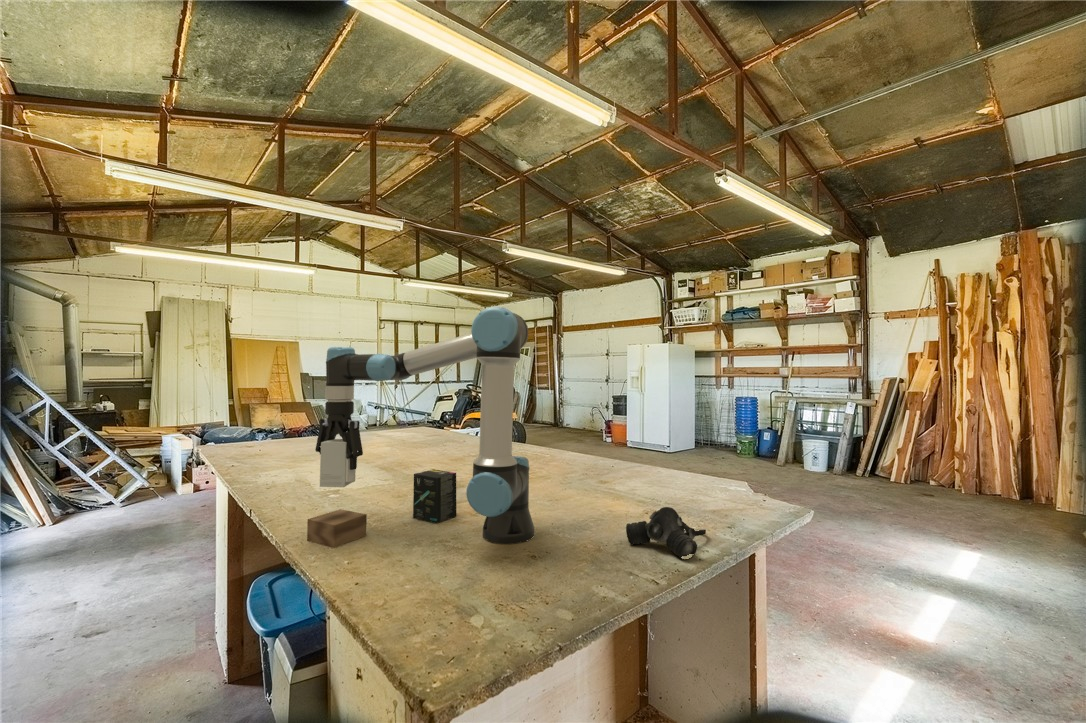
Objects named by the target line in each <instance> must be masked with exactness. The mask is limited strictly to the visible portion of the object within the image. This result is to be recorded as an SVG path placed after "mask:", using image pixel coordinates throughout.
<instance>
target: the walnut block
mask: <svg viewBox="0 0 1086 723" xmlns="http://www.w3.org/2000/svg"><path fill="white" fill-rule="evenodd" d="M367 519H368V518H367V514H366V513H361V512H356V511H351V510H346V509H342V508H341V509H337V510H334V511H330V512H326V513H324V514H320V515H317V516H314V517H310V518H307V528H306V531H307V533H306V541H307V542H310V543H315V544H318V545H322V546H326V547H330V548H336V547H339V546H342V545H344V544H347V543H350V542H353V541H355V540H358V539H360V538H362V537H365V536H367V525H368V524H367Z"/></svg>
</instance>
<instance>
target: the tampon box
mask: <svg viewBox="0 0 1086 723" xmlns="http://www.w3.org/2000/svg"><path fill="white" fill-rule="evenodd" d="M412 496H413V497H412V498H413V499H412V500H413V502H412V506H413V507H412V508H413V509H412V519H415V520H420V521H424V522H428V523H432V524H439V523H441V522H445V521H448V520H450V519H453V518H456V517H457V516H458V514H457V472H453V471H447V470H440V469H430V470H429V469H428V470H425V471H422V472H418V473H417V472H416V473H414V474H413V495H412Z"/></svg>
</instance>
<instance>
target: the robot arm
mask: <svg viewBox="0 0 1086 723" xmlns="http://www.w3.org/2000/svg"><path fill="white" fill-rule="evenodd" d="M470 330H471V331H470V332H469V333H467V334H464V335H459V336H456V337H453V338H449V339H446V340H443V341H439V342H437V343H433V344H430V345H429V344H428V345H426V346H422V347H419V348H415V349H412V350H409V351H406V352H402V353H398V354H394V355H390V354H386V353H385V354H384V353H371V354H370V353H367V354H365V353H364V354H357V353H356V350H355V348H354V347H349V346H331V347H329V348H328V349H327V350H326V358H325V360H326V361H325V366H326V367H325V371H326V374H325V375H326V376H325V377H326V378H325V379H326V383H325V394H324V395H325V397H324V399H325V400H326V402H325V406H324V408H325V410H324V411H325V412H324V413H325V415H326V416H327V418H320V419H319V430H318V436H317V439H316V445H315V450H314V451H315V452H316V453H319V455H320V456H321V442H324V441H328V440H333V439H336V437H337V435H339V437H341V439H343V442H347V449H346V451H347V454H348V457H346V482H350V481H354V480H355V481H356V471H357V468H358V467H357V466H358V457H360V456H363V455H364V451H363V446H362V439H361V434H360V433H361V432H360V424H361V423H360V420H352V415H354V410H355V408H354V407H355V405H354V401H352V400H354V398H355V381H368V382H369V381H371V382H372V381H373V382H374V381H376V382H385V381H386V382H387V381H397V382H398V381H402V380H407V379H408V378H410V377H412V376H416V375H419V374H422V373H426V372H430V371H433V370H437V369H440V368H444V367H447V366H452V365H455V364H458V363H462V362H467V361H469V360H473V359H476V360H478V361H479V363H480V364H481V381H480V382H481V386H480V387H481V388H480V389H481V390H480V415H479V416H480V422H479V449H478V450H479V451H478V456H477V457H475V459H474V460H473V461H472V463H473V465H472V478H470V479H469V482H468V483H467V488H466V493H465V494H466V499H467V502H468V504H469V506H470V507H471V508H472V509H473V510H474V512H475V513H477V514H479V515H481V516H483V517H485V520H484V522H483V526H482V538H483V540H486V541H487V542H490V543H494V544H501V545H507V544H508V545H513V544H521V543H525V542H527V540H528V541H530V540H532V539H533V538H534V537H535V526H534V522H533V518H532V516H531V512H530V509H529V508H530V507H529V506H530V505H529V499H530V498H529V497H530V494H529V493H530V487H529V486H530V464H529V459H528V458H527V457H525V456H518V455H512V454H513V452H512V451H513V424H514V423H513V419H514V417H513V416H514V415H513V414H514V388H515V387H514V385H515V383H514V382H515V366H516V364H517V363H518V362H519V361H520V360H521V350H522V348H524V346H525V345H526V344H527V341H528V339H529V333H530V332H529V327H528V324H527V322H526V320H525V319H524V318H523V317H522V316H520V315H519V314H517V313H515V312H512V311H511V310H510V309H508V308H506V307H500V306H490V307H487V308H485V309H483V310H481V311H479V313H477V315H476V316H475V318H474V319H473V322H472V324H471V328H470ZM352 452H353V453H352ZM533 536H534V537H533ZM532 537H533V538H532ZM531 538H532V539H531Z"/></svg>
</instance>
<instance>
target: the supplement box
mask: <svg viewBox="0 0 1086 723" xmlns="http://www.w3.org/2000/svg"><path fill="white" fill-rule="evenodd" d="M320 447H321V455H320V464H319V465H320V468H319V487H321V488H345V487H347V486H349V485H350V484H352V483H354V482H356V479H355V480H354V481H350V482H346V457H348V454H347V451H346V449H347V442H343V439H342V438H335V439H333V440H328V441H324V442H321V446H320ZM352 453H353V452H352Z"/></svg>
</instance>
